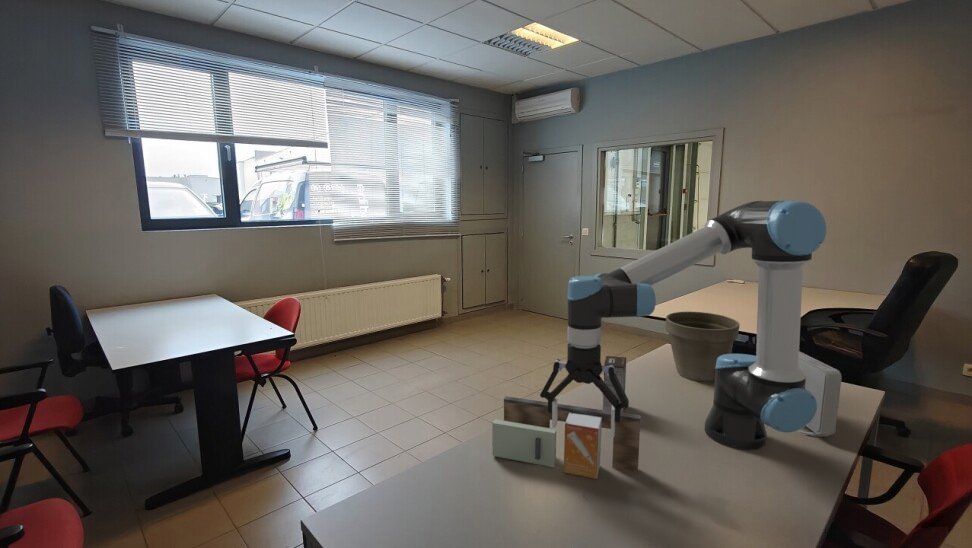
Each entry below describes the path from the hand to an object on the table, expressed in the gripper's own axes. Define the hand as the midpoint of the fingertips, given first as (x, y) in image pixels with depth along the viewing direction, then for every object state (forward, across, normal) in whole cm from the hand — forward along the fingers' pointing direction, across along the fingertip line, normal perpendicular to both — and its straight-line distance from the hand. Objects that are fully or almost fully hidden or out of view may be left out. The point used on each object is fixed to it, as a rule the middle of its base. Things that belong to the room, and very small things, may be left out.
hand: (583, 429), depth 106 cm
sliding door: (+11, +15, 0) cm, 18 cm away
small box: (+11, 0, -2) cm, 12 cm away
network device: (+13, -56, -48) cm, 75 cm away
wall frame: (+11, +4, -6) cm, 13 cm away
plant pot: (+12, -32, -78) cm, 85 cm away
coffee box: (+12, -4, -38) cm, 40 cm away
